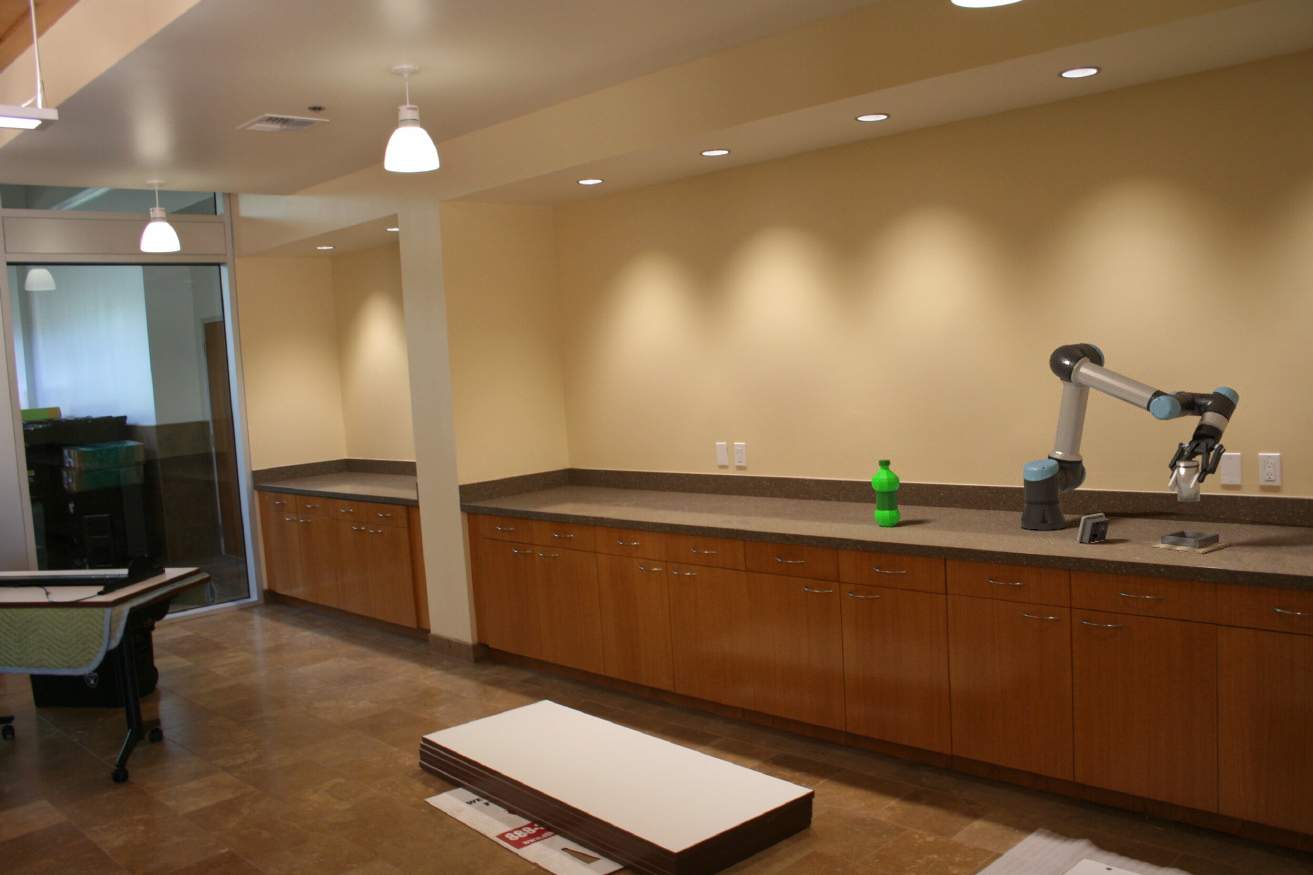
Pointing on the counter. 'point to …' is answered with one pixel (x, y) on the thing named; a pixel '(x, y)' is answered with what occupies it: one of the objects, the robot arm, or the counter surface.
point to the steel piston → (1187, 480)
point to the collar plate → (1190, 541)
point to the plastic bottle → (886, 495)
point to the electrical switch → (1093, 528)
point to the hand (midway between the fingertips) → (1181, 489)
